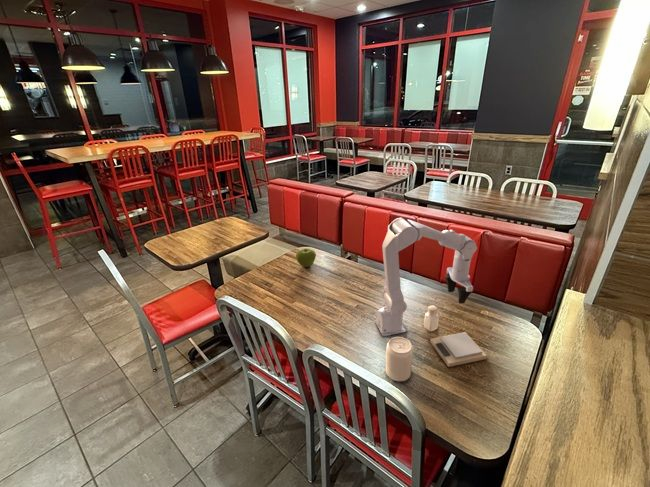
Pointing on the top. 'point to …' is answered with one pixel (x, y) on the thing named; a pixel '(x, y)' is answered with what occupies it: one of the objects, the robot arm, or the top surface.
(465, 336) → the scale
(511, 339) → the top surface
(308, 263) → the apple
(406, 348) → the beverage can
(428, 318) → the pepper shaker
